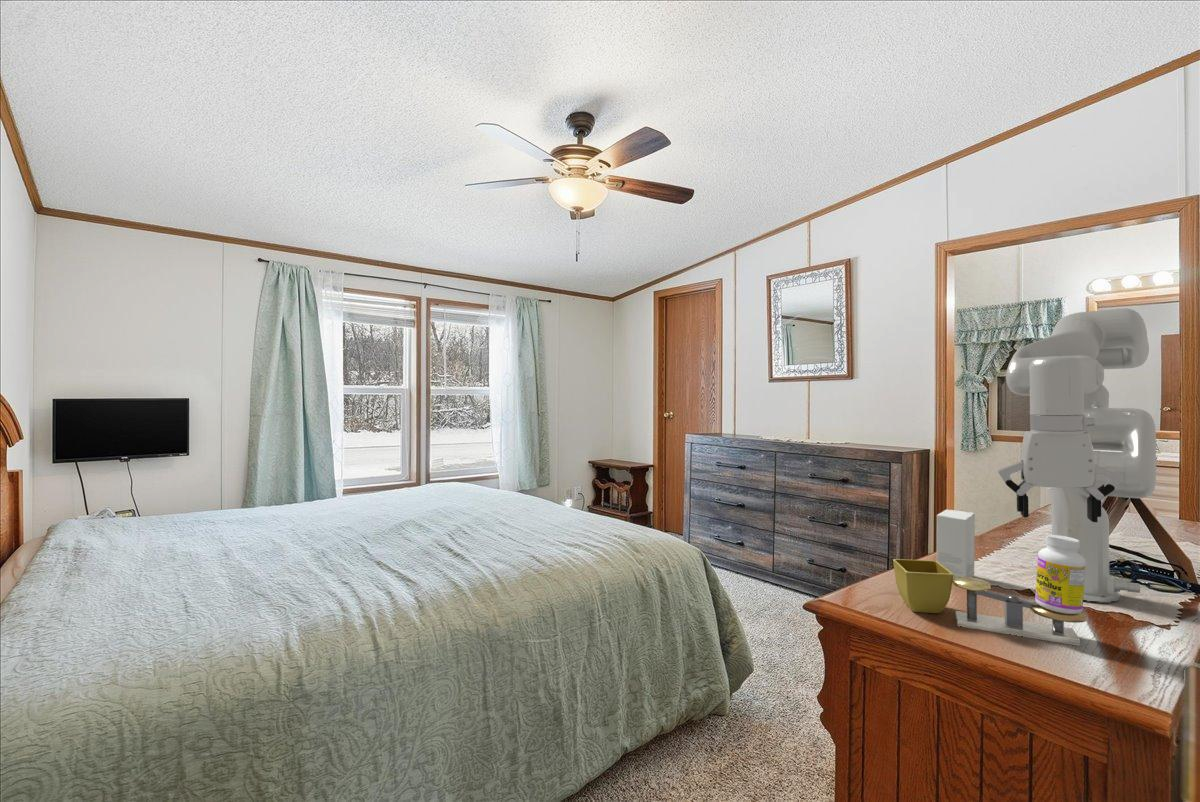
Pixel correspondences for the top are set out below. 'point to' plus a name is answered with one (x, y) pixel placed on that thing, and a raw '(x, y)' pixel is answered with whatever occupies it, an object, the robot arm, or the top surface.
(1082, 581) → the supplement bottle
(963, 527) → the skincare box
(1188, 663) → the top surface
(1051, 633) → the balance
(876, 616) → the top surface
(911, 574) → the flower pot
